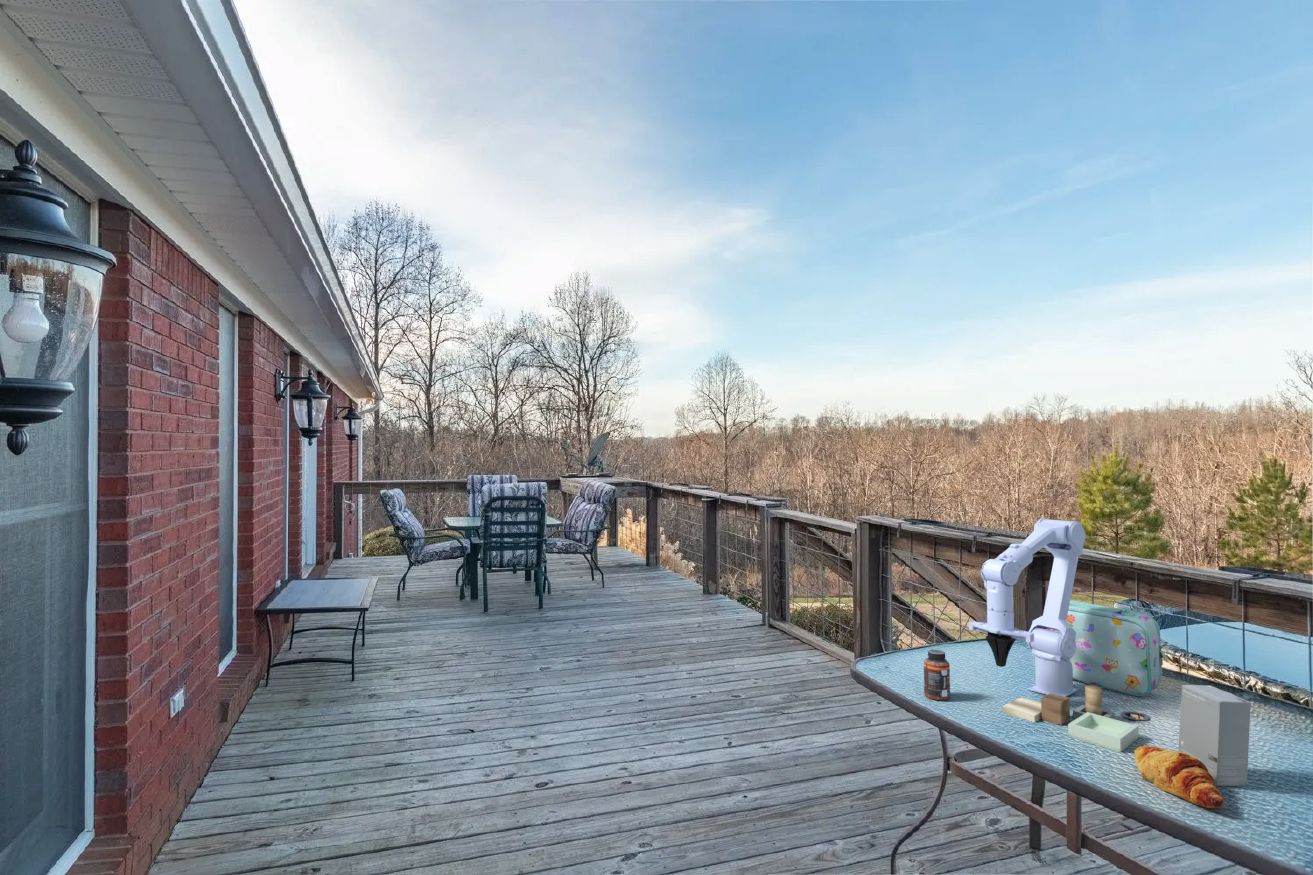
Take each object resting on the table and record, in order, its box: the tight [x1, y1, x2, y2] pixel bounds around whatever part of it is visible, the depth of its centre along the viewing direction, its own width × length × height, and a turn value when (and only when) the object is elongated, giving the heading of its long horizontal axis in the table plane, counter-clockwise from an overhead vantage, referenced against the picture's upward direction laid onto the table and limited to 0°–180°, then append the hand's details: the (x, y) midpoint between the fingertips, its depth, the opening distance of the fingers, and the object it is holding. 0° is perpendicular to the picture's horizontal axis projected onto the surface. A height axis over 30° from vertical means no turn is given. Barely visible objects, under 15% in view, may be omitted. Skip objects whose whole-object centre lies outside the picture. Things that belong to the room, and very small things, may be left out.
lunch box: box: [1047, 599, 1168, 697], centre depth 171 cm, size 27×10×21 cm, turn 34°
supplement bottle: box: [923, 649, 951, 702], centre depth 162 cm, size 6×6×11 cm
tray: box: [1067, 712, 1139, 753], centre depth 138 cm, size 11×10×3 cm
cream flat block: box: [1001, 696, 1042, 723], centre depth 152 cm, size 10×7×2 cm
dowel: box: [1084, 684, 1103, 716], centre depth 148 cm, size 3×3×7 cm
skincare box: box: [1177, 684, 1252, 787], centre depth 122 cm, size 8×7×16 cm
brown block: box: [1040, 693, 1071, 726], centre depth 147 cm, size 5×4×5 cm
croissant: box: [1133, 745, 1225, 809], centre depth 118 cm, size 21×10×8 cm, turn 175°
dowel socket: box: [1072, 704, 1116, 720], centre depth 148 cm, size 6×6×2 cm
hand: (1001, 665), depth 157 cm, fingers closed
